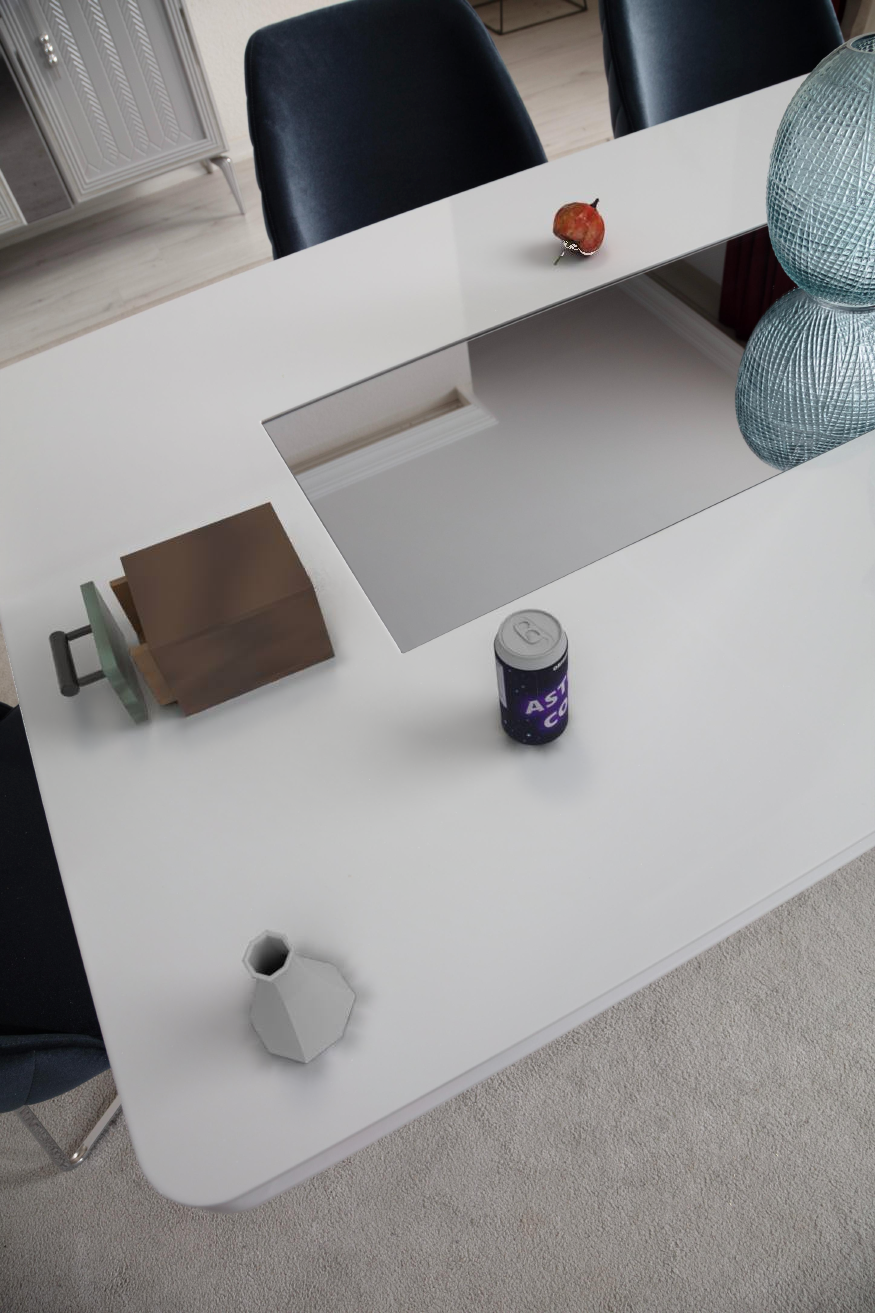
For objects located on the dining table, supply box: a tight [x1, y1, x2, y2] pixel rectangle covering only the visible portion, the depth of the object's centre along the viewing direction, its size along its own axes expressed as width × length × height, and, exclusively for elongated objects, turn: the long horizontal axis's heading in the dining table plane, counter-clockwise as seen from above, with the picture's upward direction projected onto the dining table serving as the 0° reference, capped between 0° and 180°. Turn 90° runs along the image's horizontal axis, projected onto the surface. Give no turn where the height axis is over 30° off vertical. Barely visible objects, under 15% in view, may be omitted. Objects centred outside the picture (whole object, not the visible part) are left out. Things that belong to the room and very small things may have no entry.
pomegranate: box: [552, 197, 606, 266], centre depth 126 cm, size 7×7×10 cm
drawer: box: [48, 575, 177, 726], centre depth 84 cm, size 18×11×8 cm, turn 114°
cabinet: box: [119, 501, 336, 718], centre depth 85 cm, size 15×13×10 cm
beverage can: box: [493, 608, 569, 746], centre depth 75 cm, size 6×6×12 cm
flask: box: [241, 929, 356, 1064], centre depth 62 cm, size 7×7×10 cm
